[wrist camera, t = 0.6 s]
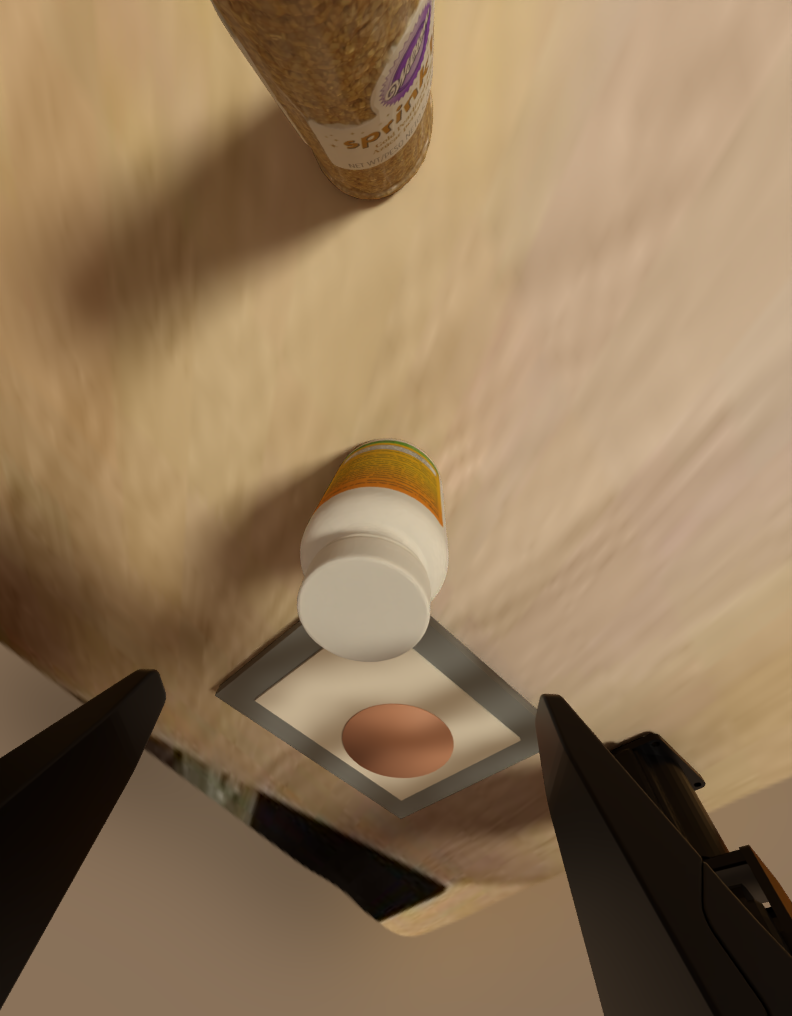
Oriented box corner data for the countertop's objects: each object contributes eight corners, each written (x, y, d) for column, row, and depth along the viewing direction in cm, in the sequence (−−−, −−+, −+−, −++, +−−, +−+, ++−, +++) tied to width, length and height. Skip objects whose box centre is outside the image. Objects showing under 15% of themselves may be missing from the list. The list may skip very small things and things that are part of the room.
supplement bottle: (323, 448, 20) (242, 552, 11) (430, 425, 19) (434, 517, 10) (353, 541, 22) (305, 689, 13) (450, 524, 21) (468, 669, 12)
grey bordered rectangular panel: (559, 729, 27) (564, 744, 26) (401, 807, 32) (400, 823, 31) (370, 562, 22) (367, 574, 22) (220, 685, 28) (212, 699, 27)
